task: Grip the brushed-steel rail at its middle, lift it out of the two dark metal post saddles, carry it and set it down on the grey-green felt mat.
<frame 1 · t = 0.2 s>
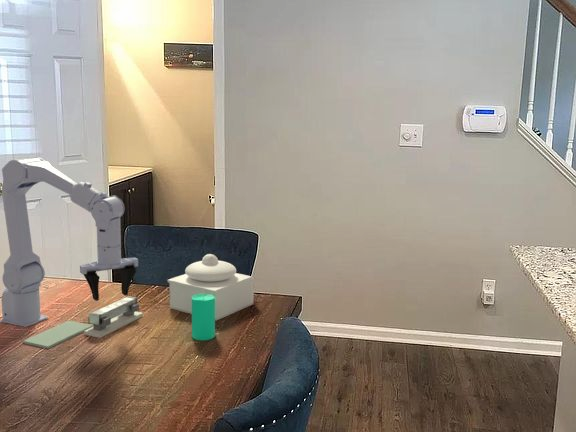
hand: (110, 296, 161), 10 cm above the table, tool pointing down, fingers open, 7 cm apart
candle: (203, 336, 163), on the table
butter dish: (211, 307, 186), on the table
rail: (114, 314, 169), point 3 cm above the table, touching standards
standards: (114, 325, 169), on the table
mat: (59, 334, 161), on the table
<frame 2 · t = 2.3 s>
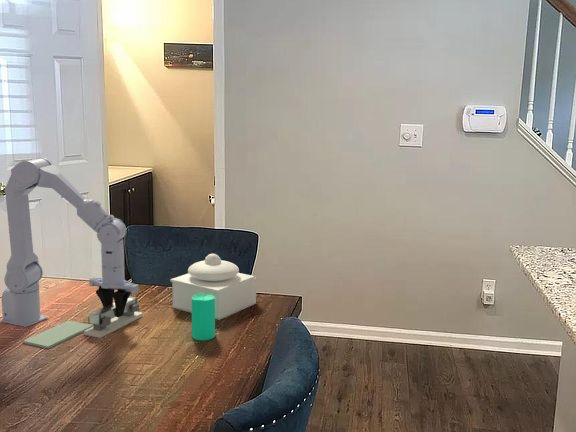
hand: (114, 315, 169), 3 cm above the table, tool pointing down, fingers closed on rail, 3 cm apart
rail: (114, 314, 169), point 3 cm above the table, touching gripper, standards
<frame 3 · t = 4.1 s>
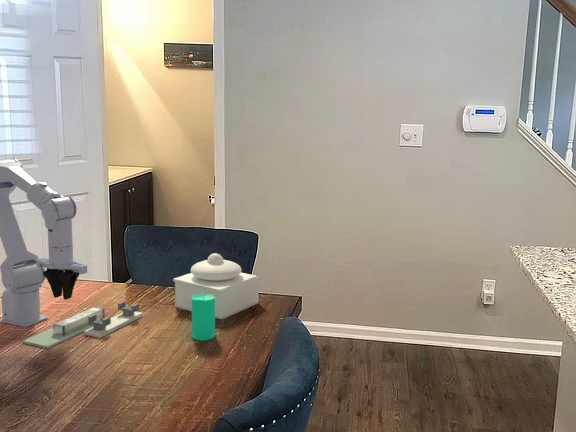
hand: (62, 297, 160), 10 cm above the table, tool pointing down, fingers open, 3 cm apart
rail: (80, 325, 167), point 1 cm above the table, touching mat
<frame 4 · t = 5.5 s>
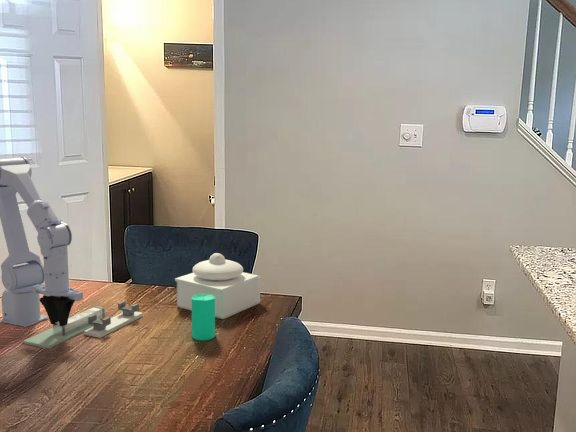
hand: (59, 323, 161), 3 cm above the table, tool pointing down, fingers closed on rail, 2 cm apart
rail: (80, 325, 167), point 1 cm above the table, touching gripper, mat
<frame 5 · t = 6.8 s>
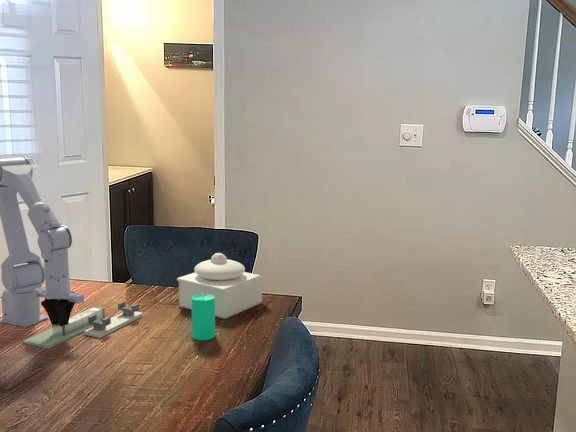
hand: (60, 326, 161), 2 cm above the table, tool pointing down, fingers closed on rail, 2 cm apart
rail: (80, 325, 167), point 1 cm above the table, touching gripper, mat
when the fingers open (2 cm above the table, at t = 7.6 s): rail stays where it is, resting on mat.
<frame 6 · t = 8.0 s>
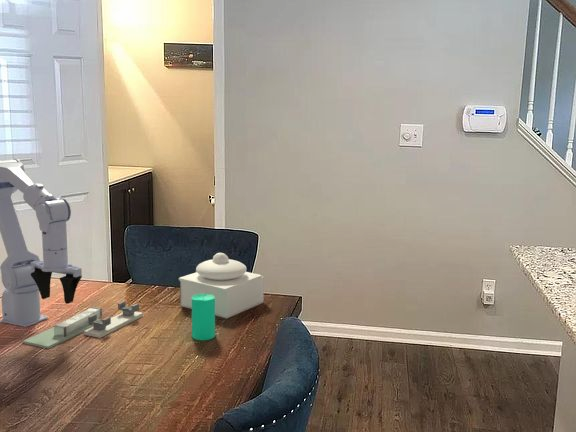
hand: (57, 300, 160), 9 cm above the table, tool pointing down, fingers open, 7 cm apart
rail: (79, 325, 166), point 1 cm above the table, touching mat
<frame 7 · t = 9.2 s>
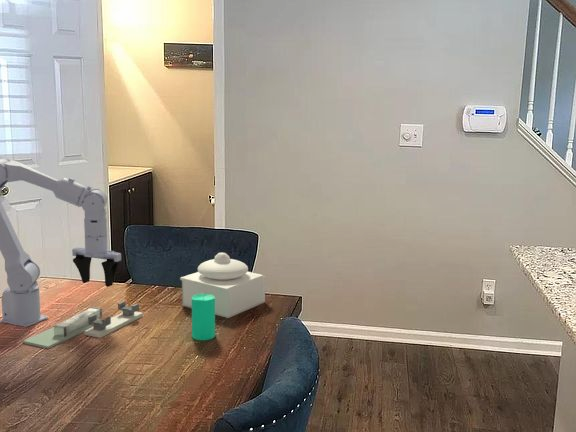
hand: (97, 283, 172), 10 cm above the table, tool pointing down, fingers open, 7 cm apart
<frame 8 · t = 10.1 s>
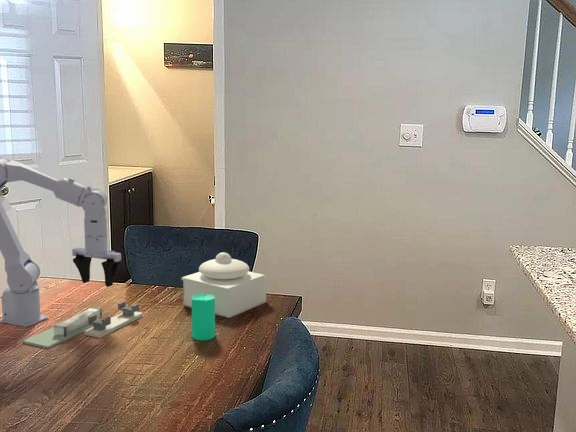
hand: (97, 283, 172), 10 cm above the table, tool pointing down, fingers open, 7 cm apart
at the end: rail inside the target area on the mat (6.1 cm from its centre), point 0.6 cm above the mat's base; rail touching mat; the gripper is holding nothing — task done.
